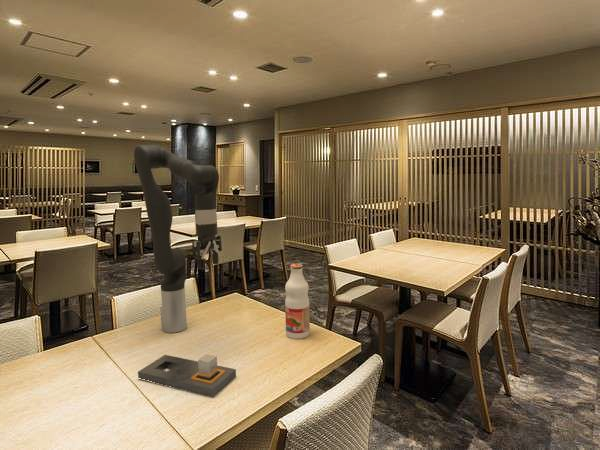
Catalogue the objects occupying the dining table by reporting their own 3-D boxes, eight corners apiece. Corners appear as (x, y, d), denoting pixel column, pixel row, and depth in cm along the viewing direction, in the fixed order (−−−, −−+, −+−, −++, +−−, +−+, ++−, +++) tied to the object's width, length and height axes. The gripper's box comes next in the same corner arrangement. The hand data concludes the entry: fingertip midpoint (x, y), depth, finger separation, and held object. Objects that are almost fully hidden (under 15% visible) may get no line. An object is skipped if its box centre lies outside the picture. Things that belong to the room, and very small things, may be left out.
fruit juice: (314, 336, 148) (313, 266, 145) (291, 341, 144) (290, 269, 141) (303, 327, 157) (302, 261, 153) (282, 332, 153) (280, 263, 149)
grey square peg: (199, 385, 116) (197, 360, 115) (207, 378, 119) (205, 354, 118) (210, 387, 114) (209, 362, 113) (218, 380, 118) (216, 356, 117)
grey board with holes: (138, 379, 120) (137, 371, 119) (165, 361, 131) (164, 354, 130) (213, 397, 109) (213, 388, 109) (236, 376, 120) (235, 368, 120)
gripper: (209, 219, 144) (211, 261, 146) (184, 224, 131) (187, 270, 133) (226, 219, 141) (228, 262, 143) (202, 225, 128) (205, 272, 130)
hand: (208, 266), depth 138 cm, fingers open, 8 cm apart
